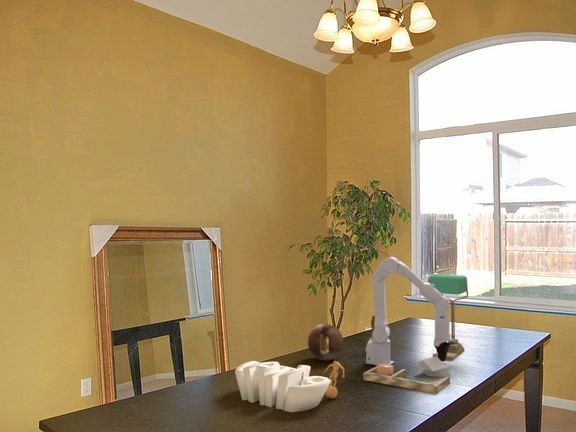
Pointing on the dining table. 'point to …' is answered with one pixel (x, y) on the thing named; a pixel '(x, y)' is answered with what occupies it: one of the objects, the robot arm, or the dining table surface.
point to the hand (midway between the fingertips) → (442, 360)
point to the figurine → (332, 390)
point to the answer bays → (405, 381)
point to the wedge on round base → (434, 367)
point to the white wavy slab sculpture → (280, 385)
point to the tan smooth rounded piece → (385, 369)
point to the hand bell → (372, 327)
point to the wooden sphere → (325, 342)
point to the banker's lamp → (456, 287)
